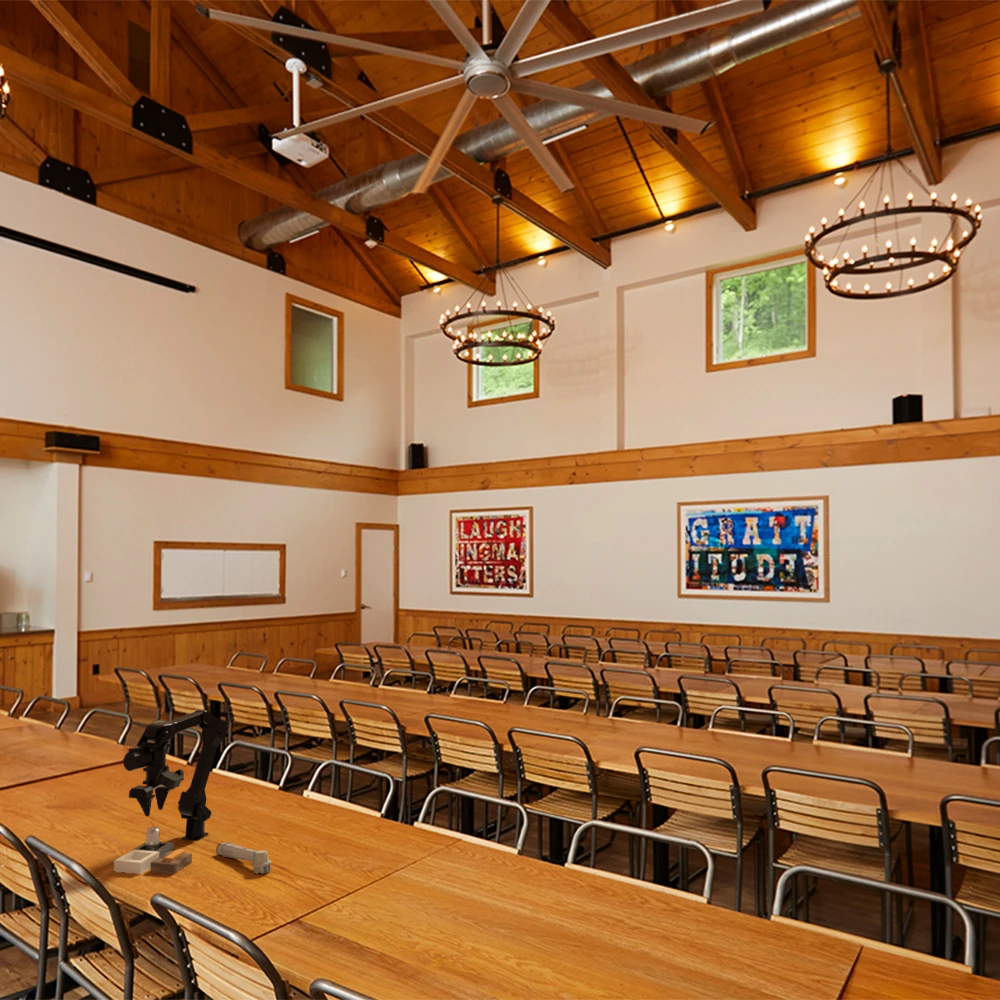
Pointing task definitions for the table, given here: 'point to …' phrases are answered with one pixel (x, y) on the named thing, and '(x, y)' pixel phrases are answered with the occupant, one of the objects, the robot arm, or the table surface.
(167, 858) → the block
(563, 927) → the table surface
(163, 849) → the socket block
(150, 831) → the peg
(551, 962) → the table surface
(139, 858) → the frame
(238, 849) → the grey handle with block
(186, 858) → the key guide
